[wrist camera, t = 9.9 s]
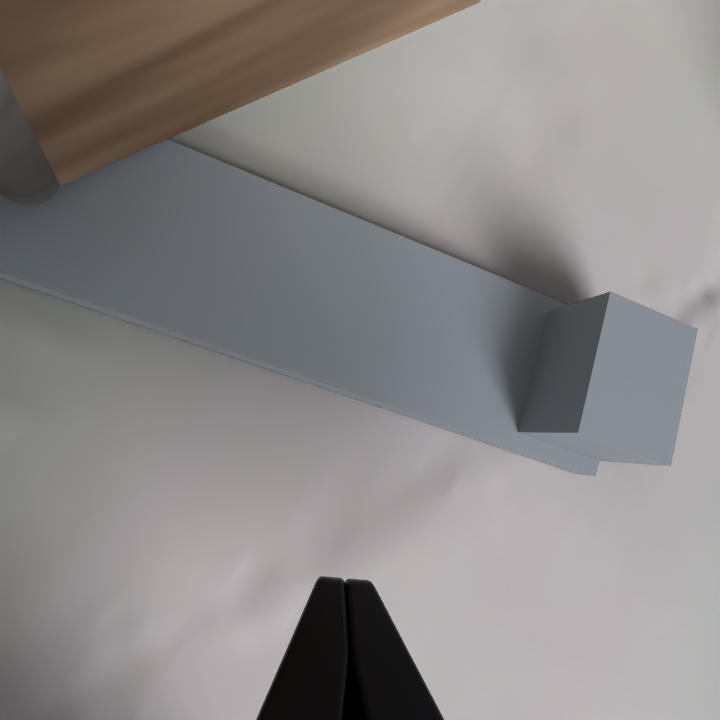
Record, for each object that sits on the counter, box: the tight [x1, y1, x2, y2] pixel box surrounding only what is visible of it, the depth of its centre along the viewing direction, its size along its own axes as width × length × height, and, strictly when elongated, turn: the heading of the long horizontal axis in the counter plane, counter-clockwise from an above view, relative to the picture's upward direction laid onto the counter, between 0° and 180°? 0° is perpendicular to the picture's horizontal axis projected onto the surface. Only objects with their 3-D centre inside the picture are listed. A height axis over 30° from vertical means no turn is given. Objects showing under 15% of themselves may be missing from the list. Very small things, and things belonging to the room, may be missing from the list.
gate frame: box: [0, 139, 698, 476], centre depth 16 cm, size 5×23×4 cm, turn 72°
